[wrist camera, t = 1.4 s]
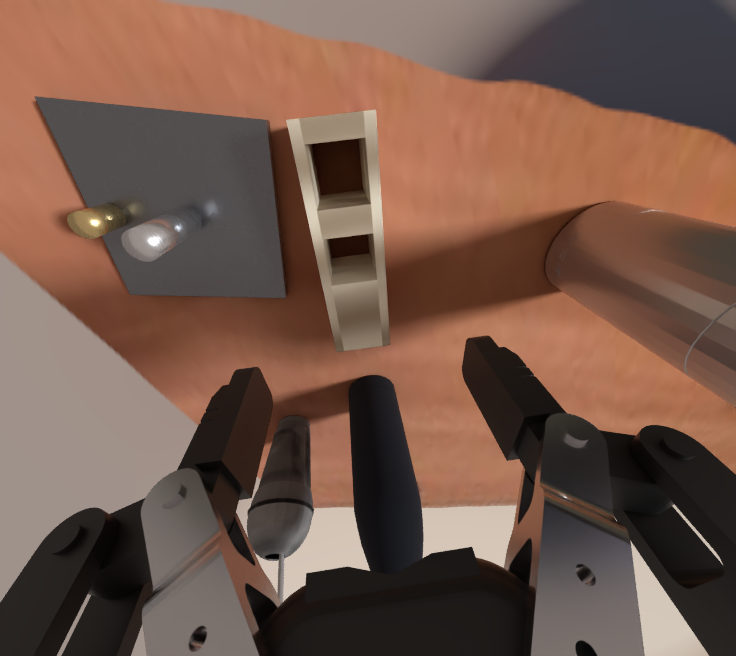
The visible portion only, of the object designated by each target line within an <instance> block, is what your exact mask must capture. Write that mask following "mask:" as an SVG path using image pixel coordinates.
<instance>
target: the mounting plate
mask: <svg viewBox="0 0 736 656" xmlns="http://www.w3.org/2000/svg"><path fill="white" fill-rule="evenodd" d="M35 99H36V101H37V103H38V105H39V107H40V109H41V111H42V113H43V115H44V117H45V119H46V121H47V123H48V125H49V128H50V130H51V132H52V134H53V136H54V138H55V140H56V142H57V144H58V146H59V148H60V150H61V152H62V154H63V157H64V159H65V161H66V163H67V165H68V167H69V169H70V171H71V173H72V175H73V177H74V179H75V181H76V184H77V186H78V188H79V190H80V192H81V194H82V196H83V198H84V200H85V202H86V204H87V206H88V208H87V209H83V210H79V211H76V212H72V213H70V214H69V215H68V217H67V222H68V224H69V226H70V228H71V229H72V230H73V231H74V232H75V233H76V234H78V235H79V236H81V237H84V238H87V239H94V238H97V237H99V236H102V237H103V240H104V242H105V244H106V246H107V248H108V250H109V252H110V254H111V256H112V258H113V260H114V262H115V264H116V266H117V269H118V271H119V273H120V275H121V277H122V279H123V281H124V283H125V285H126V287H127V289H128V291H129V293H130V295H165V296H211V297H258V298H286V296H287V285H286V276H285V266H284V257H283V247H282V238H281V228H280V218H279V209H278V199H277V190H276V180H275V171H274V161H273V152H272V142H271V133H270V123H269V121H268V120H261V119H251V118H241V117H232V116H222V115H212V114H202V113H192V112H182V111H173V110H163V109H153V108H143V107H133V106H123V105H114V104H104V103H94V102H84V101H74V100H64V99H55V98H45V97H35Z"/></svg>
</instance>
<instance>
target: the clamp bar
mask: <svg viewBox="0 0 736 656" xmlns="http://www.w3.org/2000/svg"><path fill="white" fill-rule="evenodd" d="M286 121H287V126H288V130H289V135H290V139H291V144H292V149H293V153H294V158H295V163H296V167H297V172H298V176H299V181H300V186H301V190H302V195H303V199H304V204H305V209H306V213H307V218H308V223H309V227H310V232H311V236H312V241H313V246H314V250H315V255H316V259H317V264H318V269H319V273H320V278H321V283H322V287H323V292H324V296H325V301H326V306H327V310H328V315H329V319H330V324H331V329H332V333H333V338H334V343H335V347H336V352H342V351H349V350H356V349H364V348H371V347H378V346H385V345H390V335H389V318H388V302H387V285H386V269H385V252H384V236H383V219H382V203H381V186H380V170H379V153H378V136H377V120H376V110H369V111H360V112H351V113H343V114H334V115H325V116H317V117H308V118H299V119H291V120H286ZM357 138H359V149H360V160H361V170H362V181H363V190H360V191H352V192H344V193H336V194H327V195H321V193H320V187H319V182H318V176H317V171H316V165H315V159H314V154H313V148H312V144H315V143H323V142H332V141H340V140H349V139H357ZM364 234H368V244H369V253H368V254H360V255H352V256H345V257H337V258H332V254H331V248H330V243H329V239H332V238H340V237H348V236H356V235H364Z"/></svg>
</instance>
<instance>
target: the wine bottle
mask: <svg viewBox="0 0 736 656" xmlns="http://www.w3.org/2000/svg"><path fill="white" fill-rule="evenodd" d="M349 414H350V434H351V454H352V474H353V494H354V512H355V517H356V522H357V528H358V532H359V536H360V540H361V544H362V547H363V550H364V553H365V556H366V559H367V562H368V565H369V568H370V571H372V572H378V573H383V574H395V573H397V572H399V571H400V570H402V569H404V568H406V567H408V566H410V565H411V564H413V563H415V562H417V561H419V560H421V559H422V556H423V519H422V508H421V500H420V495H419V491H418V487H417V482H416V478H415V474H414V470H413V465H412V461H411V457H410V453H409V448H408V444H407V440H406V436H405V431H404V427H403V423H402V419H401V414H400V410H399V406H398V402H397V397H396V393H395V389H394V385H393V384H392V382H391V381H390V380H389V379H387V378H385V377H382V376H377V375H370V376H366V377H362V378H360V379H358V380H356V381H355V382H354V383H353V384H352V385H351V387H350V389H349Z"/></svg>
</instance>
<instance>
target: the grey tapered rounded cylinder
mask: <svg viewBox="0 0 736 656" xmlns="http://www.w3.org/2000/svg"><path fill="white" fill-rule="evenodd" d="M309 426H310V424H309V421H308V420H307V419H305V418H303V417H300V416H287V417H285V418H283V419H281V420H280V422H279V424H278V427H277V430H276V432H275V435H274V439H273V442H272V445H271V448H270V452H269V455H268V458H267V461H266V465H265V468H264V471H263V475H262V478H261V481H260V485H259V488H258V490H257V492H256V494H255V496H254V498H253V501H252V503H251V507H250V509H249V510H248V520H247V532H248V539H249V542H250V544H251V546H252V548H253V550H254V551H255V553H256V554H257V555H259V556H260V557H261V558H263V559H266V560H269V561H277V560H279V569H278V597H279V599H280V601H281V603H283V582H284V580H283V579H284V558H286V557H288V556H290V555H291V554H293V553H294V552H295V551H296V550H297V549H298V548H299V547H300V546H301V544H302V543H303V542H304V540H305V538H306V536H307V534H308V532H309V529H310V525H311V520H312V516H313V511H314V509H313V500H312V492H311V473H310V428H309Z"/></svg>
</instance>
